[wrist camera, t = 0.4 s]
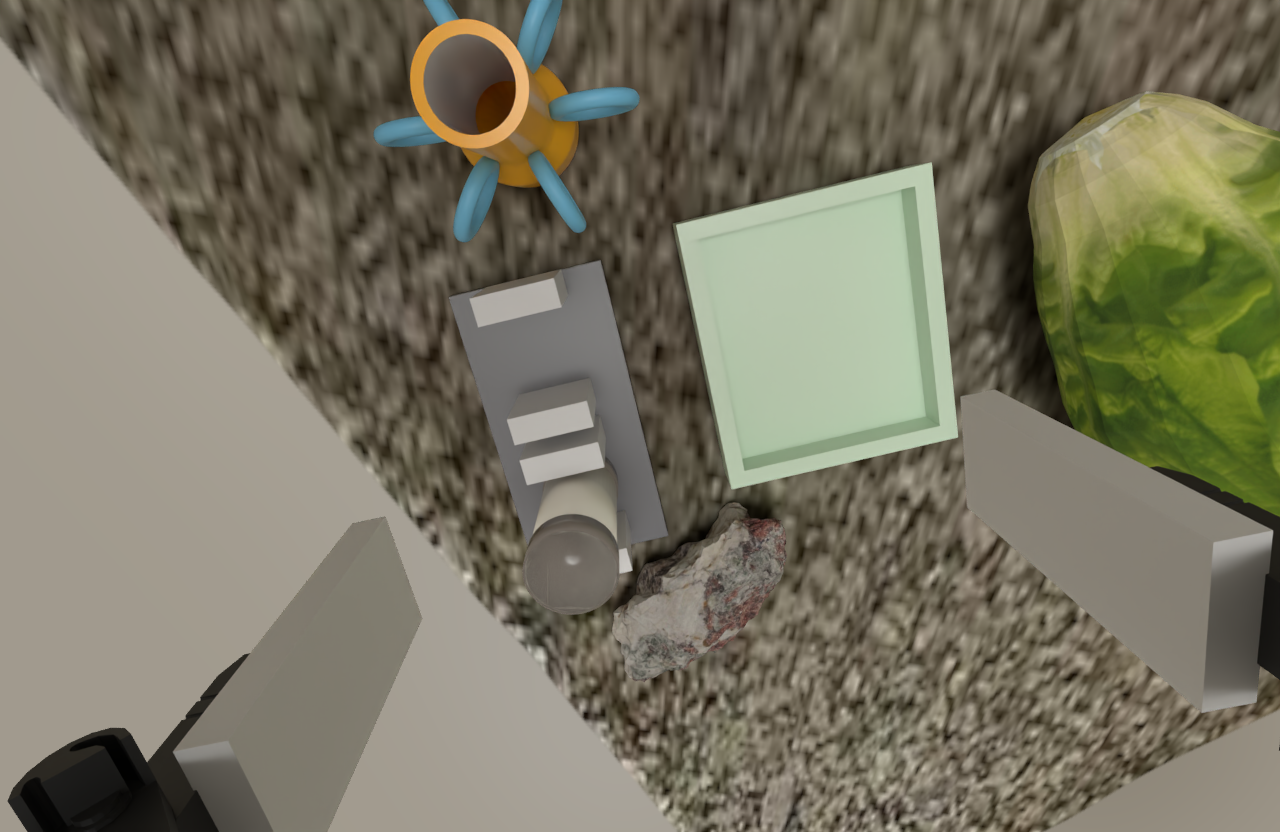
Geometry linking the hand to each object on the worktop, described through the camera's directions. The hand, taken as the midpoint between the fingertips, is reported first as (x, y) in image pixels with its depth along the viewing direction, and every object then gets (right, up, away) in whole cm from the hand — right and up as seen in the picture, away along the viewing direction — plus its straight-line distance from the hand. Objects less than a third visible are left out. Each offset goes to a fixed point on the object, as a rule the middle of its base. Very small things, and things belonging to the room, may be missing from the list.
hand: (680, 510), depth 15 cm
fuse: (-5, -2, +28) cm, 28 cm away
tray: (+10, +7, +26) cm, 29 cm away
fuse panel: (-6, +2, +27) cm, 28 cm away
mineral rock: (+3, -9, +31) cm, 33 cm away
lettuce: (+28, +10, +26) cm, 39 cm away
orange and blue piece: (-7, +18, +22) cm, 29 cm away
